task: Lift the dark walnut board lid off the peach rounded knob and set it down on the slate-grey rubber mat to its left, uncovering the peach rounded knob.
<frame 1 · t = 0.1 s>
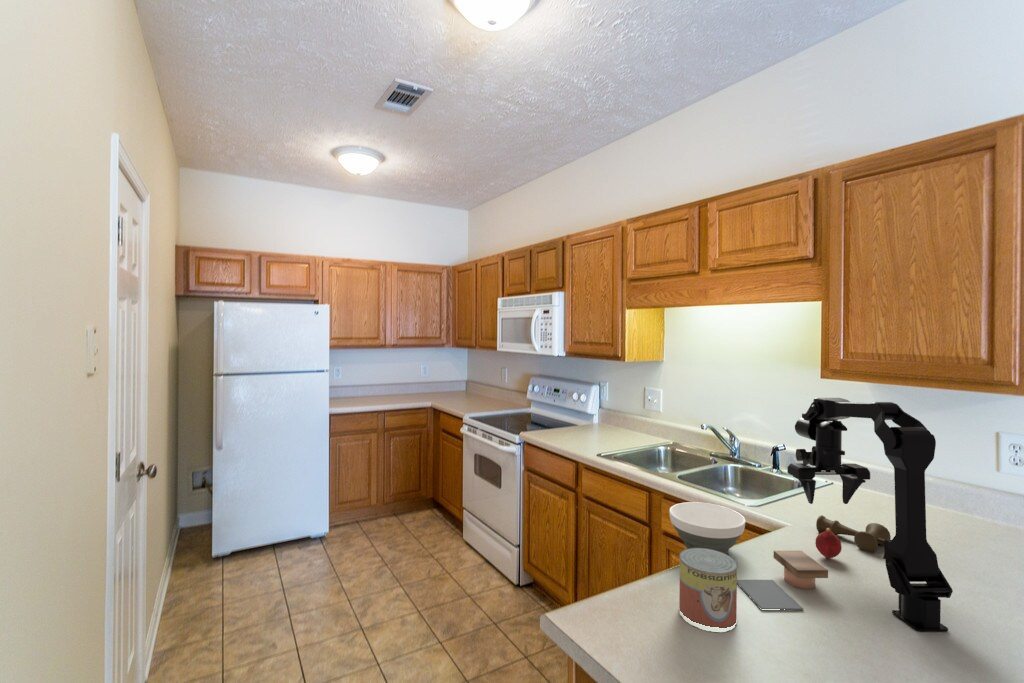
hand: (827, 503, 126), 15 cm above the countertop, fingers open, 9 cm apart
onion: (828, 559, 126), on the countertop
mat: (767, 595, 108), on the countertop
peach rounded knob: (799, 581, 114), on the countertop
cover: (799, 567, 114), point 3 cm above the countertop, touching peach rounded knob
canned food: (707, 617, 100), on the countertop
kendama: (856, 544, 136), on the countertop
bowl: (706, 549, 132), on the countertop
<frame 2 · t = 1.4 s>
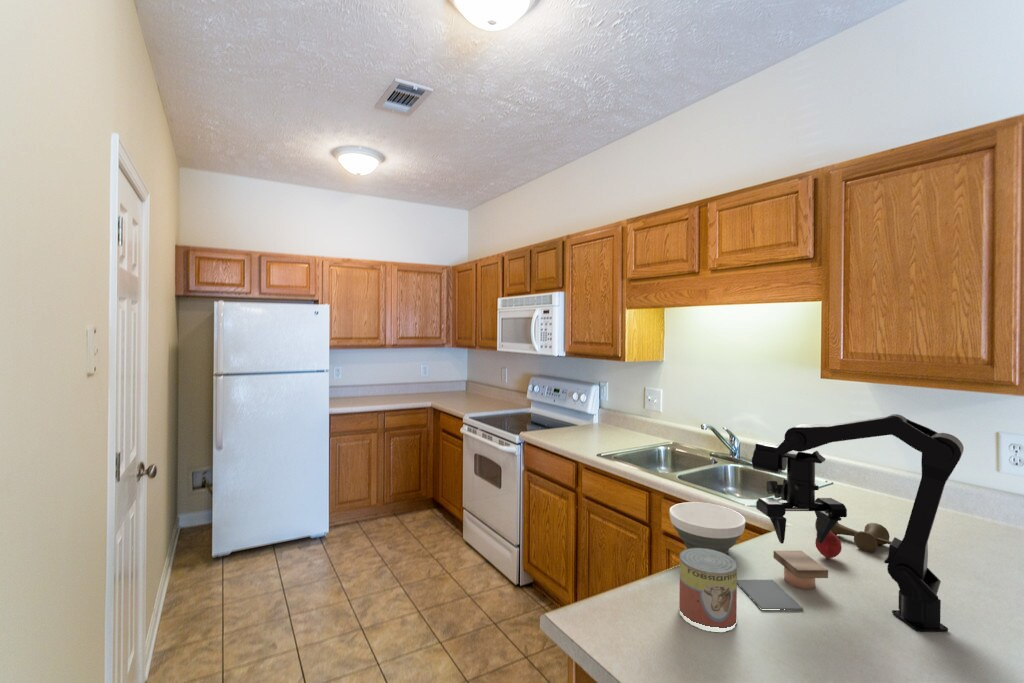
hand: (800, 542, 114), 9 cm above the countertop, fingers open, 9 cm apart
nothing on the countertop moved.
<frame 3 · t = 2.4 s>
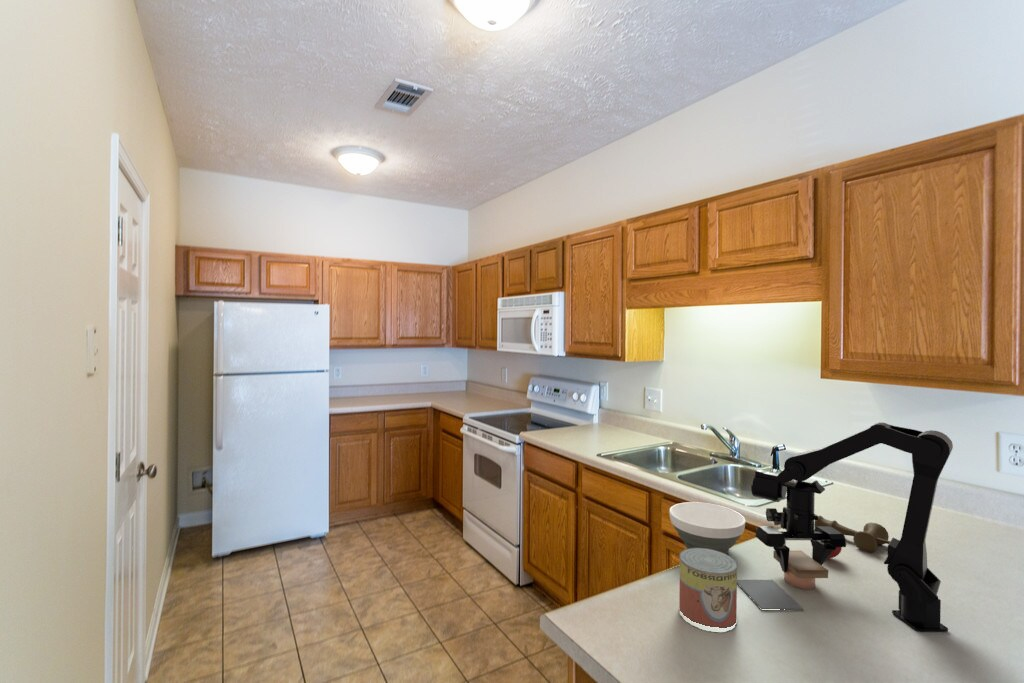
hand: (799, 571, 114), 2 cm above the countertop, fingers closed on cover, 7 cm apart
cover: (799, 567, 114), point 3 cm above the countertop, touching gripper, peach rounded knob
everything else where it was.
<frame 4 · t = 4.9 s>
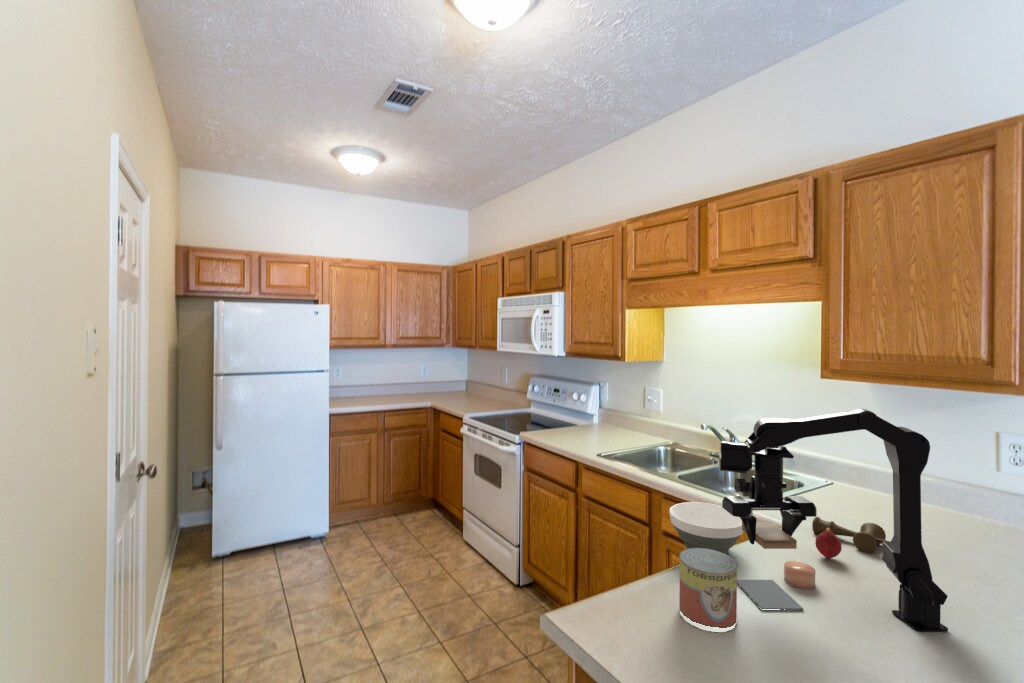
hand: (768, 543, 108), 12 cm above the countertop, fingers closed on cover, 7 cm apart
cover: (767, 538, 108), point 13 cm above the countertop, touching gripper
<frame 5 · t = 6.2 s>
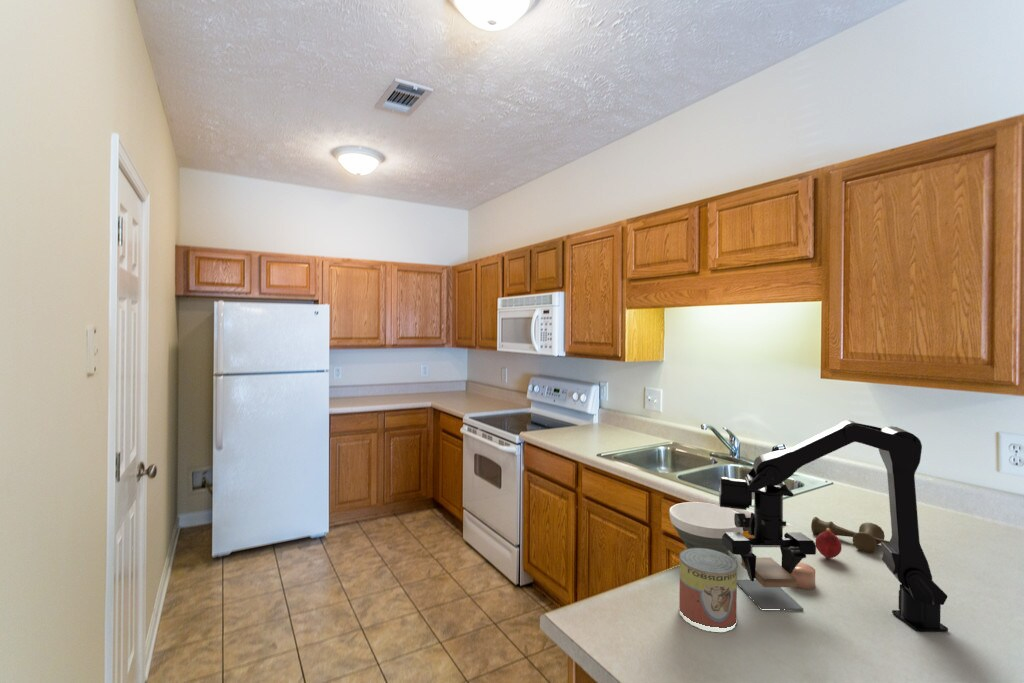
hand: (767, 580, 108), 3 cm above the countertop, fingers closed on cover, 7 cm apart
cover: (767, 575, 108), point 4 cm above the countertop, touching gripper
when the fingers open (1 cm above the countertop, at t = 7.2 s): cover drops 2 cm, resting on mat.
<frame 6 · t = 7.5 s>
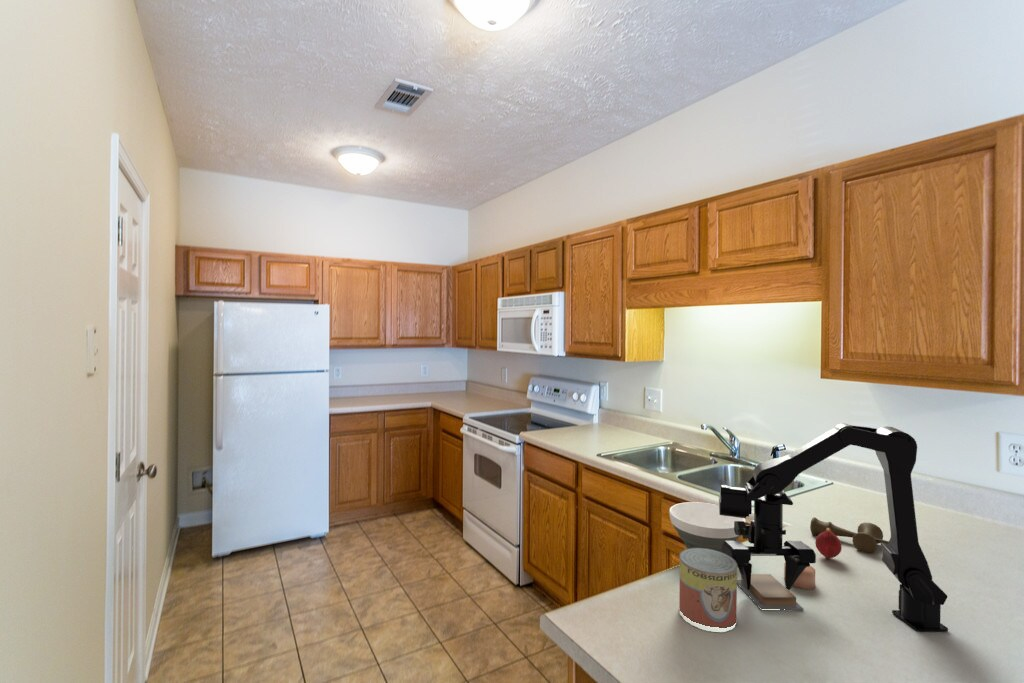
hand: (767, 588, 108), 1 cm above the countertop, fingers open, 9 cm apart
cover: (767, 593, 108), resting on mat
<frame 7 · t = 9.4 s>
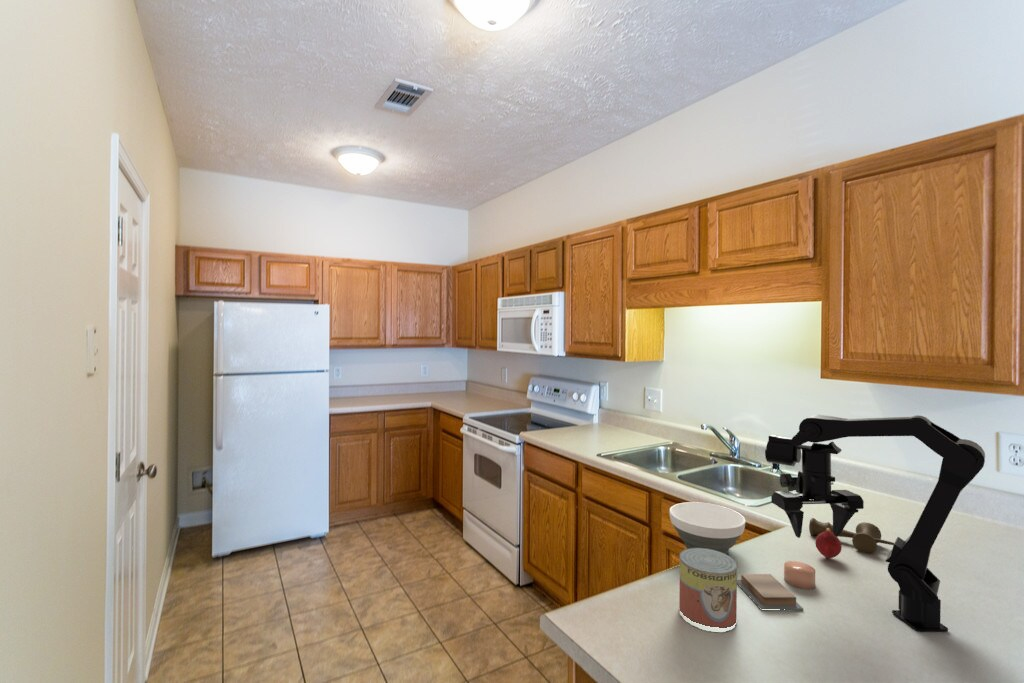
hand: (817, 536, 111), 12 cm above the countertop, fingers open, 9 cm apart
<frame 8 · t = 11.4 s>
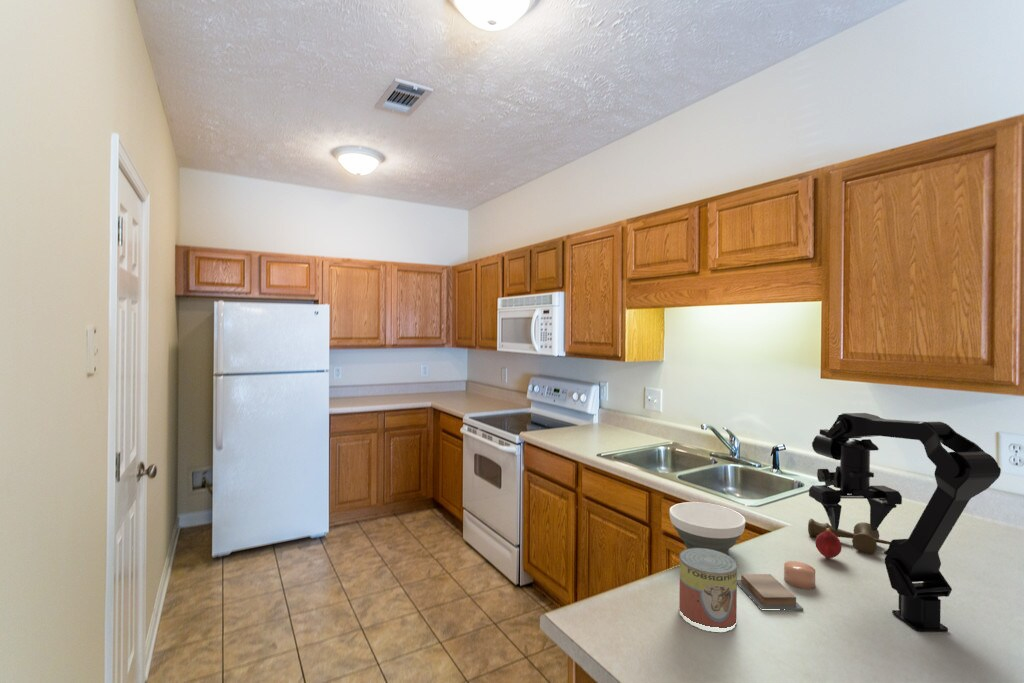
hand: (854, 530, 114), 12 cm above the countertop, fingers open, 9 cm apart
at the end: cover inside the target area on the mat (0.1 cm from its centre), point 0.5 cm above the mat's base; cover touching mat; the gripper is holding nothing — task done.
